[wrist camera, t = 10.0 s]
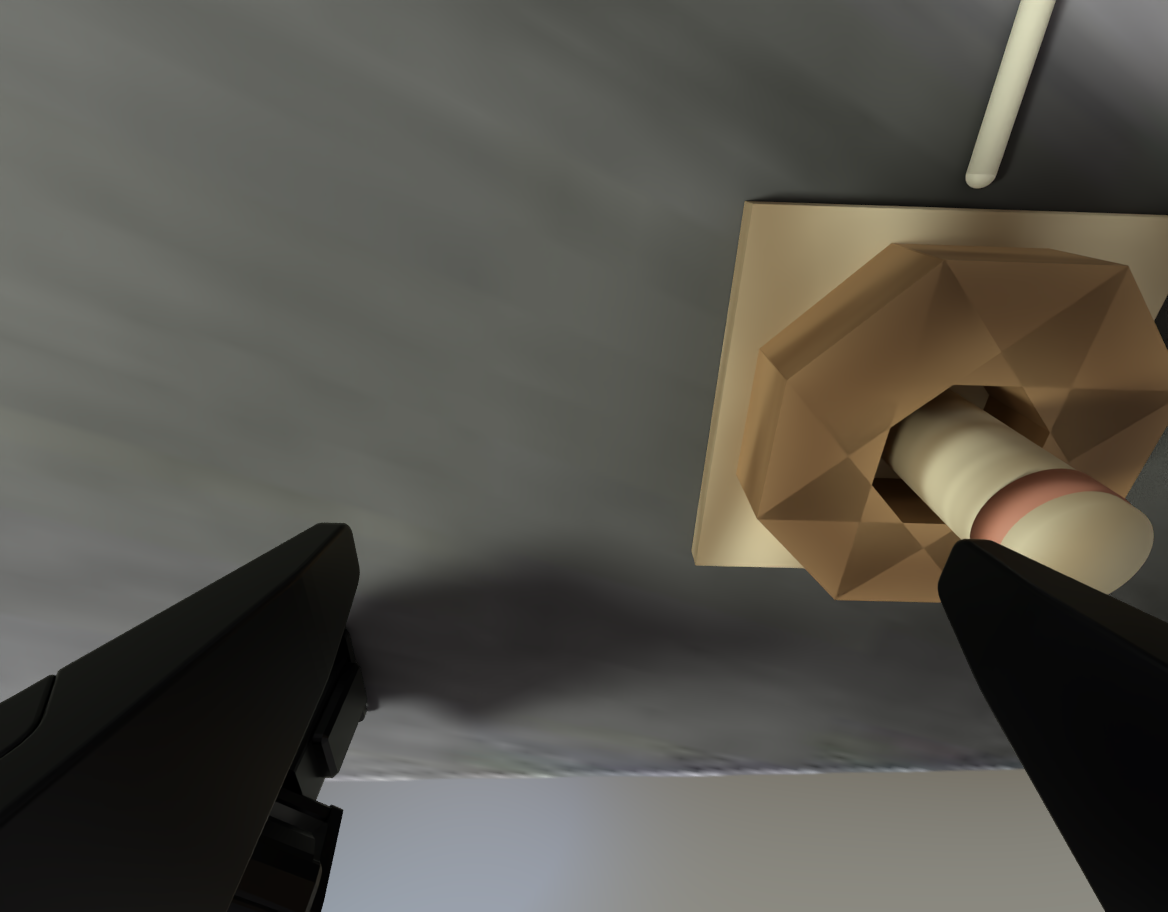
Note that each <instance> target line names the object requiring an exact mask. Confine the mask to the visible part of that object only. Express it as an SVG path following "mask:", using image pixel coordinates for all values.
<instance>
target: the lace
mask: <svg viewBox="0 0 1168 912" xmlns="http://www.w3.org/2000/svg"><path fill="white" fill-rule="evenodd" d="M1055 2H1056V0H1021V2H1020V5H1019V8H1018V11H1017V15H1016V18H1015V21H1014V24H1013V27H1012V30H1011V34H1010V37H1009V40H1008V43H1007V46H1006V49H1005V52H1004V56H1003V59H1002V62H1001V65H1000V68H999V71H998V74H997V78H996V81H995V84H994V87H993V90H992V93H991V97H990V100H989V103H988V106H987V109H986V112H985V115H984V119H983V122H982V125H981V128H980V131H979V134H978V137H977V141H976V144H975V147H974V150H973V153H972V156H971V160H970V163H969V166H968V169H967V172H966V182H967V184H968V185H969V186H970V187H972V188H983V187H986V186H987V185H989V184H990V183H991V182H992V181H993V180H994V179H995V177H996V175H997V172H998V169H999V166H1000V163H1001V160H1002V157H1003V154H1004V151H1005V148H1006V146H1007V143H1008V140H1009V137H1010V134H1011V131H1012V128H1013V125H1014V122H1015V119H1016V116H1017V113H1018V110H1019V107H1020V104H1021V102H1022V99H1023V96H1024V93H1025V90H1026V87H1027V84H1028V81H1029V78H1030V75H1031V72H1032V69H1033V66H1034V63H1035V60H1036V58H1037V55H1038V52H1039V49H1040V46H1041V43H1042V40H1043V37H1044V34H1045V31H1046V28H1047V25H1048V22H1049V19H1050V16H1051V14H1052V11H1053V8H1054V5H1055Z"/></svg>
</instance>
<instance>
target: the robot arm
mask: <svg viewBox="0 0 1168 912" xmlns="http://www.w3.org/2000/svg"><path fill="white" fill-rule="evenodd" d="M359 575H360V569H359V563H358V558H357V553H356V548H355V543H354V539H353V534H352V530H351V528H350V527H349V526H348V525H347V524H345V523H318V524H316V525H314V526H312V527H311V528H309V529H307V530H305V531H304V532H302V533H300V534H298V535H297V536H295V537H293V538H291V539H290V540H288V541H286V542H284V543H282V544H281V545H279V546H277V547H275V548H274V549H272V550H270V551H268V552H267V553H265V554H263V555H261V556H260V557H258V558H256V559H254V560H252V561H251V562H249V563H247V564H245V565H244V566H242V567H240V568H238V569H237V570H235V571H233V572H231V573H229V574H228V575H226V576H224V577H222V578H221V579H219V580H217V581H215V582H214V583H212V584H210V585H208V586H207V587H205V588H203V589H201V590H199V591H198V592H196V593H194V594H192V595H191V596H189V597H187V598H185V599H184V600H182V601H180V602H178V603H176V604H175V605H173V606H171V607H169V608H168V609H166V610H164V611H162V612H161V613H159V614H157V615H155V616H154V617H152V618H150V619H148V620H146V621H145V622H143V623H141V624H139V625H138V626H136V627H134V628H132V629H131V630H129V631H127V632H125V633H123V634H122V635H120V636H118V637H116V638H115V639H113V640H111V641H109V642H108V643H106V644H104V645H102V646H100V647H99V648H97V649H95V650H93V651H92V652H90V653H88V654H86V655H85V656H83V657H81V658H79V659H78V660H76V661H74V662H72V663H70V664H69V665H67V666H65V667H63V668H62V669H60V670H59V671H58V672H57V675H49V676H47V677H45V678H44V679H42V680H40V681H38V682H37V683H35V684H33V685H31V686H30V687H28V688H26V689H24V690H23V691H21V692H19V693H17V694H16V695H14V696H12V697H10V698H9V699H7V700H5V701H3V702H1V703H0V912H321V909H322V906H323V902H324V898H325V893H326V888H327V884H328V880H329V874H330V870H331V866H332V861H333V856H334V852H335V847H336V842H337V837H338V833H339V828H340V823H341V819H342V814H343V809H341V808H338V807H336V806H334V805H330V806H327V805H325V804H323V803H320V802H318V801H316V799H317V796H318V794H319V792H320V789H321V787H322V784H323V782H324V780H325V778H333V777H334V776H335V775H336V774H338V773H339V770H340V768H341V765H342V763H343V760H344V758H345V755H346V753H347V750H348V748H349V745H350V743H351V740H352V737H353V735H354V732H355V730H356V727H357V725H358V722H360V721H363V719H364V717H365V715H366V712H367V708H366V702H367V695H366V691H365V687H364V682H363V678H362V674H361V669H360V667H359V665H358V664H357V663H356V661H355V657H354V652H353V648H352V644H351V639H350V635H349V632H348V630H347V629H346V628H345V625H346V622H347V618H348V615H349V612H350V609H351V605H352V602H353V599H354V596H355V592H356V589H357V586H358V582H359ZM938 595H939V598H940V601H941V603H942V605H943V608H944V610H945V612H946V614H947V617H948V619H949V621H950V623H951V626H952V628H953V630H954V632H955V635H956V637H957V639H958V641H959V644H960V646H961V648H962V650H963V653H964V655H965V657H966V659H967V662H968V664H969V666H970V669H971V671H972V673H973V675H974V677H975V679H976V682H977V684H978V686H979V688H980V690H981V692H982V694H983V696H984V698H985V699H986V701H987V703H988V705H989V707H990V709H991V710H992V712H993V714H994V716H995V718H996V719H997V721H998V723H999V725H1000V726H1001V728H1002V730H1003V732H1004V734H1005V735H1006V737H1007V739H1008V741H1009V742H1010V744H1011V746H1012V748H1013V749H1014V751H1015V753H1016V755H1017V757H1018V758H1019V760H1020V762H1021V764H1022V765H1023V767H1024V769H1025V771H1026V772H1027V774H1028V776H1029V778H1030V780H1031V781H1032V783H1033V785H1034V787H1035V788H1036V790H1037V792H1038V793H1039V795H1040V797H1041V799H1042V801H1043V803H1044V804H1045V806H1046V808H1047V810H1048V811H1049V813H1050V815H1051V817H1052V818H1053V820H1054V822H1055V824H1056V826H1057V827H1058V829H1059V831H1060V833H1061V834H1062V836H1063V838H1064V839H1065V841H1066V843H1067V845H1068V847H1069V848H1070V850H1071V852H1072V854H1073V855H1074V857H1075V859H1076V861H1077V863H1078V864H1079V866H1080V868H1081V870H1082V871H1083V873H1084V875H1085V877H1086V879H1087V880H1088V882H1089V884H1090V886H1091V887H1092V889H1093V891H1094V893H1095V894H1096V896H1097V898H1098V900H1099V902H1100V903H1101V905H1102V907H1103V909H1104V910H1105V912H1168V623H1166V622H1164V621H1162V620H1160V619H1158V618H1156V617H1154V616H1152V615H1149V614H1147V613H1145V612H1143V611H1141V610H1139V609H1137V608H1135V607H1132V606H1130V605H1128V604H1126V603H1124V602H1122V601H1120V600H1118V599H1115V598H1113V597H1111V596H1109V595H1107V594H1105V593H1103V592H1101V591H1098V590H1096V589H1094V588H1092V587H1090V586H1088V585H1086V584H1084V583H1081V582H1079V581H1077V580H1075V579H1073V578H1071V577H1069V576H1067V575H1064V574H1062V573H1060V572H1058V571H1056V570H1054V569H1052V568H1050V567H1047V566H1045V565H1043V564H1041V563H1039V562H1037V561H1035V560H1033V559H1030V558H1028V557H1026V556H1024V555H1022V554H1020V553H1018V552H1016V551H1013V550H1011V549H1009V548H1007V547H1005V546H1003V545H1001V544H999V543H996V542H994V541H992V540H987V539H961V540H959V541H957V542H956V543H955V544H954V546H953V547H952V550H951V552H950V554H949V557H948V559H947V561H946V564H945V566H944V568H943V571H942V573H941V575H940V578H939V580H938Z"/></svg>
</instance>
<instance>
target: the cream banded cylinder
mask: <svg viewBox="0 0 1168 912" xmlns="http://www.w3.org/2000/svg"><path fill="white" fill-rule="evenodd" d="M881 458H882V459H883V460H884V461H885V462H886V463H887V464H888V465H889V466H890V467H891V468H892V469H893V470H894V471H895V472H896V473H897V475H898V476H899V477H900V478H901V479H902V480H903V481H904V482H905V483H906V484H907V485H908V486H909V487H910V488H911V489H912V490H913V491H914V492H915V493H916V494H917V495H918V496H919V497H920V498H921V499H922V500H923V501H924V502H925V503H926V504H927V505H928V506H929V507H930V508H931V509H932V510H933V511H934V512H935V513H936V514H937V515H938V516H939V517H940V518H941V520H942V521H943V522H944V523H945V524H946V525H947V526H948V527H949V528H950V529H951V530H952V531H953V532H954V533H955V534H956V535H957V536H958V537H959V538H960V539H987V540H992V541H994V542H996V543H999V544H1001V545H1003V546H1005V547H1007V548H1009V549H1011V550H1013V551H1016V552H1018V553H1020V554H1022V555H1024V556H1026V557H1028V558H1030V559H1033V560H1035V561H1037V562H1039V563H1041V564H1043V565H1045V566H1047V567H1050V568H1052V569H1054V570H1056V571H1058V572H1060V573H1062V574H1064V575H1067V576H1069V577H1071V578H1073V579H1075V580H1077V581H1079V582H1081V583H1084V584H1086V585H1088V586H1090V587H1092V588H1094V589H1096V590H1098V591H1101V592H1103V593H1105V594H1107V595H1108V594H1110V593H1111V592H1113V591H1115V590H1116V589H1118V588H1119V587H1121V586H1122V585H1123V584H1124V583H1126V582H1127V581H1128V580H1129V579H1130V578H1131V577H1133V576H1134V575H1135V574H1136V573H1137V571H1138V570H1139V569H1140V568H1141V567H1142V565H1143V564H1144V562H1145V561H1146V559H1147V557H1148V556H1149V554H1150V551H1151V548H1152V545H1153V540H1154V532H1153V527H1152V525H1151V522H1150V521H1149V519H1148V518H1147V516H1146V515H1144V514H1143V513H1142V512H1141V511H1139V510H1138V509H1136V508H1135V507H1133V506H1132V505H1131V504H1130V502H1128V501H1127V500H1126V499H1125V498H1123V497H1122V496H1120V495H1119V494H1117V493H1116V492H1114V491H1112V490H1111V489H1109V488H1108V487H1106V486H1105V485H1103V484H1101V483H1100V482H1098V481H1097V480H1095V479H1094V478H1092V477H1090V476H1089V475H1087V474H1085V473H1083V472H1080V471H1077V470H1076V469H1074V468H1072V467H1071V466H1069V465H1068V464H1066V463H1065V462H1063V461H1061V460H1060V459H1058V458H1057V457H1055V456H1054V455H1052V454H1051V453H1049V452H1047V451H1046V450H1044V449H1043V448H1041V447H1040V446H1038V445H1037V444H1035V443H1033V442H1032V441H1030V440H1029V439H1027V438H1026V437H1024V436H1022V435H1021V434H1019V433H1018V432H1016V431H1015V430H1013V429H1012V428H1010V427H1008V426H1007V425H1005V424H1004V423H1002V422H1001V421H999V420H998V419H996V418H994V417H993V416H991V415H990V414H988V413H987V412H985V411H984V410H982V409H980V408H979V407H977V406H976V405H974V404H973V403H971V402H969V401H968V400H966V399H965V398H963V397H962V396H960V395H959V394H957V393H955V392H954V391H952V390H951V389H949V388H948V389H946V390H945V391H944V392H942V393H941V394H939V395H938V396H936V397H935V398H933V399H932V400H930V401H929V402H927V403H926V404H924V405H923V406H921V407H920V408H919V409H917V410H916V411H914V412H913V413H911V414H910V415H908V416H907V417H905V418H904V419H902V420H901V421H899V422H898V423H897V424H895V425H894V426H892V427H891V428H890V430H889V433H888V436H887V439H886V442H885V445H884V448H883V451H882V455H881Z"/></svg>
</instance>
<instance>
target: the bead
mask: <svg viewBox="0 0 1168 912" xmlns="http://www.w3.org/2000/svg"><path fill="white" fill-rule="evenodd" d="M952 385H979V386H984V388H985V389H986V391H987V393H988V394H989V397H988V399H987V402H986V404H985V407H984V409H983V410H984V411H985V412H987V413H988V414H990V415H991V416H993V417H994V418H996V419H998V420H999V421H1001V422H1002V423H1004V424H1005V425H1007V426H1008V427H1010V428H1012V429H1013V430H1015V431H1016V432H1018V433H1019V434H1021V435H1022V436H1024V437H1026V438H1027V439H1029V440H1030V441H1032V442H1033V443H1035V444H1037V445H1038V446H1040V447H1041V448H1043V449H1044V450H1046V451H1047V452H1049V453H1051V454H1052V455H1054V456H1055V457H1057V458H1058V459H1060V460H1061V461H1063V462H1065V463H1066V464H1068V465H1069V466H1071V467H1072V468H1074V469H1076V470H1077V471H1080V472H1083V473H1085V474H1087V475H1089V476H1090V477H1092V478H1094V479H1095V480H1097V481H1098V482H1100V483H1101V484H1103V485H1105V486H1106V487H1108V488H1109V489H1111V490H1112V491H1114V492H1116V493H1117V494H1119V495H1120V496H1122V497H1123V498H1125V497H1126V496H1127V494H1128V492H1129V490H1130V489H1131V487H1132V485H1133V484H1134V482H1135V480H1136V478H1137V477H1138V475H1139V473H1140V472H1141V470H1142V468H1143V466H1144V465H1145V463H1146V461H1147V460H1148V458H1149V456H1150V454H1151V453H1152V451H1153V449H1154V447H1155V446H1156V444H1157V442H1158V441H1159V439H1160V437H1161V435H1162V434H1163V432H1164V430H1165V429H1166V427H1167V425H1168V350H1167V348H1166V346H1165V344H1164V342H1163V339H1162V337H1161V335H1160V333H1159V331H1158V329H1157V326H1156V324H1155V322H1154V320H1153V318H1152V316H1151V313H1150V311H1149V309H1148V307H1147V305H1146V303H1145V300H1144V298H1143V296H1142V294H1141V292H1140V289H1139V287H1138V285H1137V283H1136V281H1135V279H1134V276H1133V274H1132V272H1131V270H1130V268H1129V266H1128V265H1124V264H1119V263H1114V262H1110V261H1105V260H1100V259H1096V258H1091V257H1087V256H1082V255H1077V254H1073V253H1068V252H1063V251H1059V250H1054V249H1049V248H1018V247H987V246H956V245H925V244H894V243H891V244H890V245H888V246H887V247H886V248H885V249H883V250H882V251H881V252H880V253H878V254H877V255H876V256H875V257H873V258H872V259H871V260H870V261H868V262H867V263H866V264H865V265H863V266H862V267H861V268H860V269H858V270H857V271H856V272H855V273H853V274H852V275H851V276H850V277H848V278H847V279H846V280H845V281H843V282H842V283H841V284H840V285H838V286H837V287H836V288H835V289H833V290H832V291H831V292H830V293H828V294H827V295H826V296H825V297H823V298H822V299H821V300H820V301H818V302H817V303H816V304H815V305H813V306H812V307H811V308H810V309H808V310H807V311H806V312H805V313H803V314H802V315H801V316H800V317H798V318H797V319H796V320H795V321H793V322H792V323H791V324H790V325H788V326H787V327H786V328H785V329H783V330H782V331H781V332H780V333H778V334H777V335H776V336H775V337H773V338H772V339H771V340H770V341H768V342H767V343H766V344H765V345H763V346H762V347H761V348H759V353H758V358H757V364H756V369H755V374H754V380H753V385H752V391H751V396H750V402H749V407H748V412H747V418H746V423H745V429H744V434H743V439H742V445H741V450H740V456H739V461H738V466H737V472H736V475H737V477H738V480H739V482H740V484H741V486H742V488H743V490H744V492H745V495H746V497H747V499H748V501H749V503H750V505H751V508H752V510H753V512H754V514H755V516H756V518H757V519H758V520H759V521H760V523H761V524H762V525H763V526H764V527H765V528H766V529H767V530H768V531H769V532H770V533H771V534H772V535H773V536H774V537H775V538H776V539H777V540H778V541H779V542H780V543H781V544H782V545H783V546H784V547H785V548H786V549H787V551H788V552H789V553H790V554H791V555H792V556H793V557H794V558H795V559H796V560H797V561H798V562H799V563H800V564H801V565H802V566H803V567H804V568H805V569H806V570H807V571H808V572H809V573H810V574H811V575H812V576H813V578H814V579H815V580H816V581H817V582H818V583H819V584H820V585H821V586H822V587H823V588H824V589H825V590H826V591H827V592H828V593H829V594H830V595H831V596H832V597H833V598H834V600H858V601H900V602H941V601H940V598H939V595H938V580H939V578H940V575H941V573H942V571H943V568H944V566H945V564H946V561H947V559H948V557H949V554H950V552H951V550H952V547H953V546H954V544H955V543H956V542H957V541H959V540H961V539H960V538H959V537H958V536H957V535H956V534H955V533H954V532H953V531H952V530H951V529H950V528H949V527H948V526H947V525H946V524H945V523H944V522H943V521H942V520H941V518H940V517H939V516H938V515H937V514H936V513H935V512H934V511H933V510H932V509H931V508H930V507H929V506H928V505H927V504H926V503H925V502H924V501H923V500H922V499H921V498H920V497H919V496H918V495H917V494H916V493H915V492H914V491H913V490H912V489H911V488H910V487H909V486H908V485H907V484H906V483H905V482H904V481H903V480H902V479H895V478H874V476H875V473H876V470H877V467H878V464H879V461H880V458H881V455H882V451H883V448H884V445H885V442H886V439H887V436H888V433H889V430H890V428H891V427H892V426H894V425H895V424H897V423H898V422H899V421H901V420H902V419H904V418H905V417H907V416H908V415H910V414H911V413H913V412H914V411H916V410H917V409H919V408H920V407H921V406H923V405H924V404H926V403H927V402H929V401H930V400H932V399H933V398H935V397H936V396H938V395H939V394H941V393H942V392H944V391H945V390H946V389H948V388H949V387H951V386H952Z"/></svg>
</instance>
